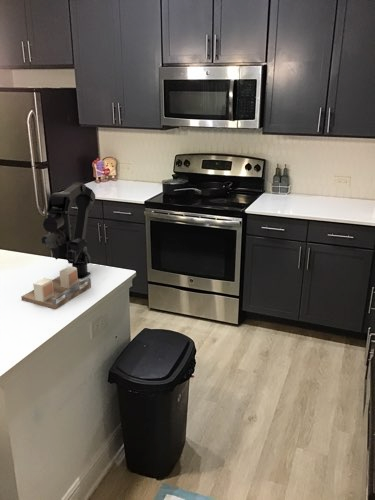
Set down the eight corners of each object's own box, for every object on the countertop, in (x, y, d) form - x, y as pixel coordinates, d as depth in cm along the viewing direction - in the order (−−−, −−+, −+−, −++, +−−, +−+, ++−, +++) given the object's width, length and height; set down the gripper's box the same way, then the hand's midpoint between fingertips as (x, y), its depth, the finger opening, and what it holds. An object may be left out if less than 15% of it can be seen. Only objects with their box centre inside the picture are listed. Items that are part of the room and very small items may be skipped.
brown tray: (59, 279, 190) (58, 270, 188) (91, 287, 183) (90, 278, 181) (21, 299, 171) (20, 290, 170) (55, 309, 164) (54, 299, 163)
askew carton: (61, 286, 179) (59, 271, 177) (70, 281, 184) (69, 266, 182) (69, 288, 178) (67, 273, 175) (78, 283, 183) (77, 267, 180)
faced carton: (35, 299, 168) (33, 283, 165) (46, 293, 173) (44, 277, 171) (43, 302, 166) (41, 285, 164) (54, 295, 171) (52, 279, 169)
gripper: (29, 226, 169) (34, 263, 175) (68, 233, 162) (71, 272, 168) (49, 219, 179) (52, 254, 184) (86, 225, 172) (89, 262, 177)
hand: (65, 260), depth 178 cm, fingers open, 9 cm apart
